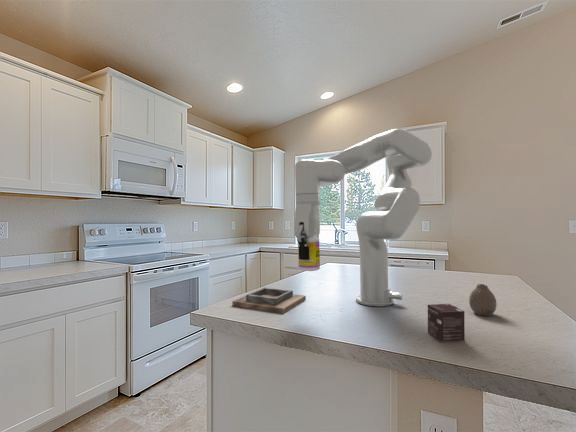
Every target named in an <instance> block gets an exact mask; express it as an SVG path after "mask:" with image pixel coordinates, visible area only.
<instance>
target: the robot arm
mask: <svg viewBox="0 0 576 432" xmlns="http://www.w3.org/2000/svg"><path fill="white" fill-rule="evenodd" d="M385 158H386V166H387V169H388V175H389V177H388V180H387V181H386V183H385V185H384V186H383V188H382V189H381V190H380V192H379V193H378V195H377V196H376V198H375V201H374V209H375V210H374V211H373V210H371V211H366V212H363V213H362V214H360V215H359V217H357V220H356V226H355V228H356V234H357V238H358V245H359V286H360V287H359V288H360V289H359V290H360V293H359V294H358V295H357V296H356V297H355V301H356V302H357V303H358V304H361V305H363V306H368V307H388V306H391V305H393V304H394V300H397V301H403V294H402V293H400V292H393V291H391V288H390V287H389V251H388V247H387V244H386V242H385V240H387V241H395V240H398V239H400V238H401V237H403V236H404V234H405V233H406V231H407V230H408V228H409V227H410V226H411V223H412V222H413V220H414V219H415V217H416V215H417V213H418V211H419V209H420V205H421V199H420V198H421V196H420V194H419V192H418V191H417V190H416V189H415V188H412V180H411V177H410V176H409V173H408V171H407V170H408V169H413V168H419V167H423V166H426V165H427V164H429V162H430V161H431V159H432V150H431V147H430V146H429V144H428V143H427V142H425V141H424V140H423V139H420V138H419V137H418V136H416V135H414V134H412V133H411V132H408V131H406V130H404V129H402V128H393V129H390V130H388V131H384V132H381V133H379V134H376V135H373V136H372V137H369V138H368V139H365V140H364V141H361V142H359V143H357V144H355V145H352V146H350V147H348V148H346V149H344V150H343V151H341V152H338V153H337V154H333V155H332V156H330V157H327V158H326V159H323V160H316V159H301V160H298V161H296V162H295V164H294V179H295V180H294V181H295V182H294V185H295V188H294V189H295V190H294V192H295V210H294V222H293V223H294V224H293V225H294V227H293V228H294V229H293V231H294V233H293V234H294V235H293V236H295V237H296V241H297V247H298V246H299V259H300V260H309V246H308V241H309V237H312V236H314V234H315V235H316V236H317V237H318V238H319V237H320V236H319V235H320V233H321V221H320V219H321V217H320V209H319V208H320V207H319V205H320V206H321V195H320V194H321V191H320V189H321V187H324V186H330V185H334V184H338V183H339V182H341V181H343V179H344V177H345V175H348V174H351V173H355V172H359V171H361V170H364V169H366V168H368V167H370V166H371V165H373V164H375V163H377V162H379V161H381V160H383V159H385ZM315 229H316V233H315V232H314V231H315ZM302 235H307V236H302ZM304 239H305V240H304ZM319 239H320V238H319Z"/></svg>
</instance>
